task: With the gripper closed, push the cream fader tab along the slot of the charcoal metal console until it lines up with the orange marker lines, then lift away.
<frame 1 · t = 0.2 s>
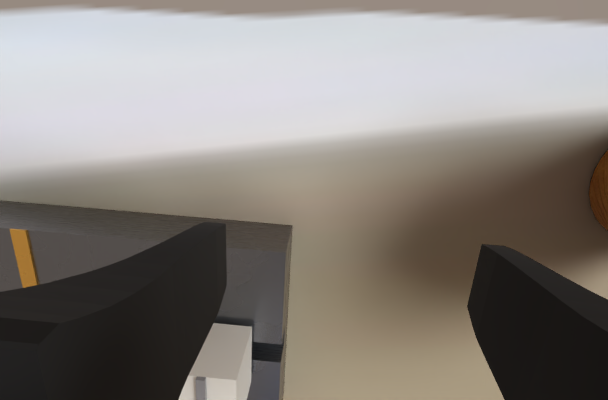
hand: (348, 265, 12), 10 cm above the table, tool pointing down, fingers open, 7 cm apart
fader tab: (217, 367, 21), point 4 cm above the table, slide at 0.0 cm
fader console: (130, 302, 25), on the table
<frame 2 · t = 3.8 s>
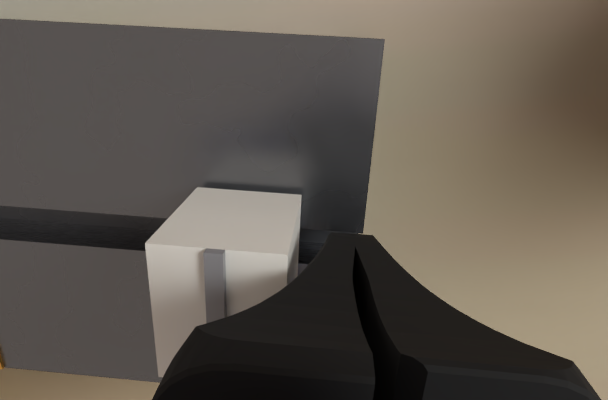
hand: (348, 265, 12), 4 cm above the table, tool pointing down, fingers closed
fader tab: (241, 265, 12), point 4 cm above the table, slide at 0.4 cm, touching gripper
fader console: (106, 193, 16), on the table
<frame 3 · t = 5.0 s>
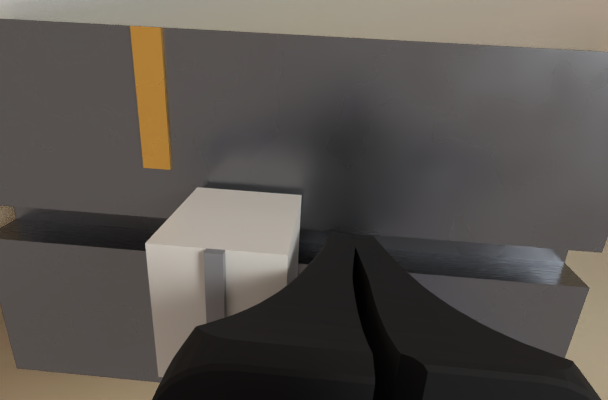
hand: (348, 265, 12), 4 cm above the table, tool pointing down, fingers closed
fader tab: (241, 265, 12), point 4 cm above the table, slide at 7.3 cm, touching gripper
fader console: (286, 207, 16), on the table
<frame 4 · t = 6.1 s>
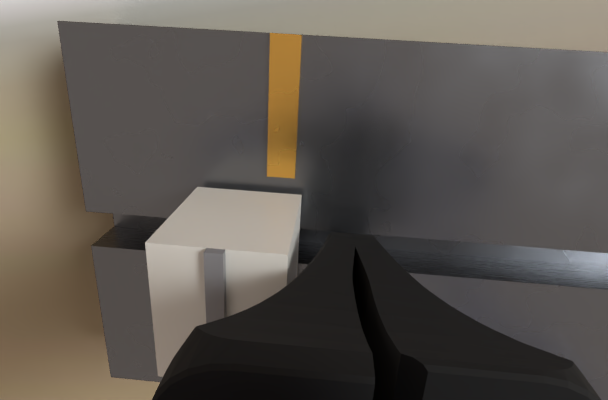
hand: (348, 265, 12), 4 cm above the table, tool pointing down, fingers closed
fader tab: (240, 265, 12), point 4 cm above the table, slide at 10.9 cm, touching gripper
fader console: (383, 214, 15), on the table
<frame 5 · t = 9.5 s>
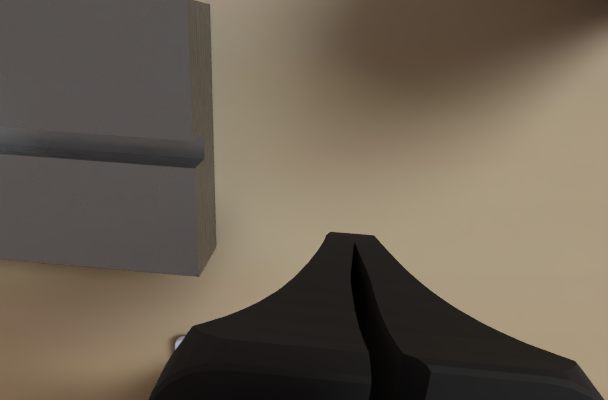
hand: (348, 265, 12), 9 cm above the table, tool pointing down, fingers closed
fader console: (26, 125, 21), on the table
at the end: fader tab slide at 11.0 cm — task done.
